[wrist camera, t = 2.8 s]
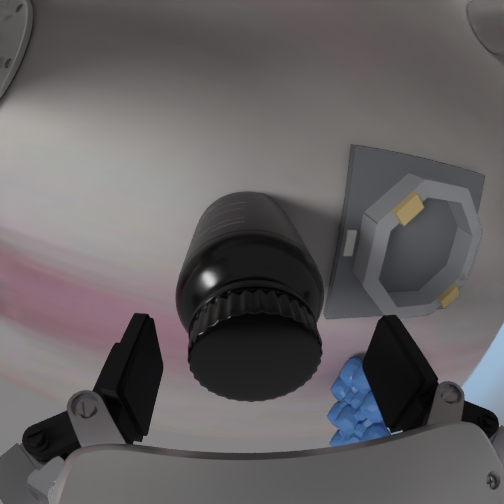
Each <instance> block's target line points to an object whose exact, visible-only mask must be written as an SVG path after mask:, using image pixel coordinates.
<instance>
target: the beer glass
mask: <svg viewBox="0 0 504 504" xmlns="http://www.w3.org/2000/svg"><path fill="white" fill-rule="evenodd" d="M467 15H468V19H469V22H470V24H471V27H472V29H473V31H474V32H475V34H476V36H477V37H478V39H479V40H480V42H481V43H482V44H483V45H484V46H485V47H486V48H487V49H488V50H489V51H491V52H492V53H494V54H503V53H504V0H471V1H469V2H468V4H467Z"/></svg>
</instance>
